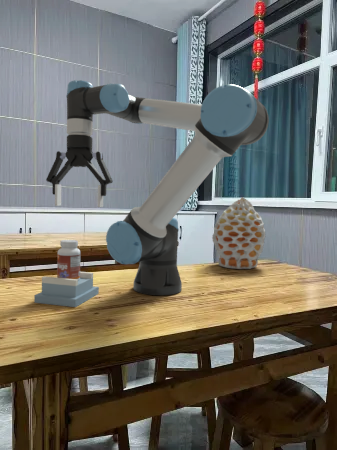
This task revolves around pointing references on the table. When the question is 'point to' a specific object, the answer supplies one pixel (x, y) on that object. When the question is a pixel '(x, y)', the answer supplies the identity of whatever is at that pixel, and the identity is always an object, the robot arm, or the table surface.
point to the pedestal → (67, 290)
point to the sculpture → (239, 236)
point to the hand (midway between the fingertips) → (79, 206)
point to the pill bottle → (68, 260)
